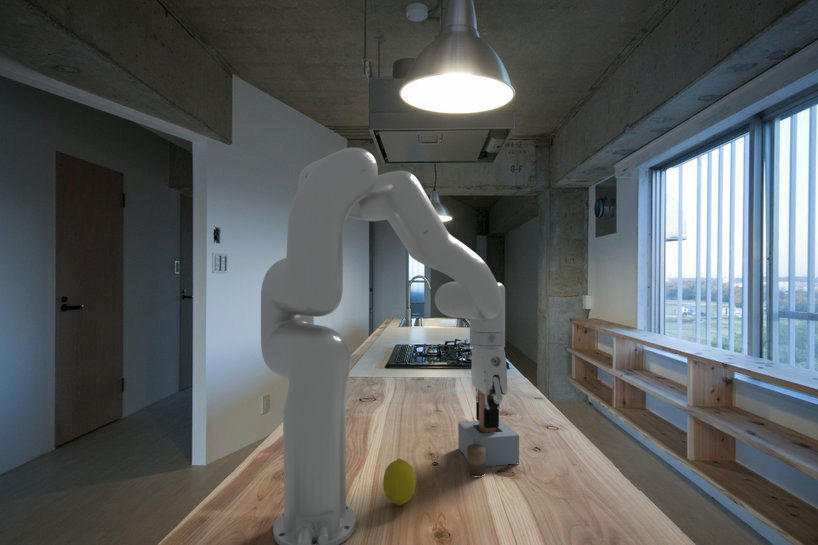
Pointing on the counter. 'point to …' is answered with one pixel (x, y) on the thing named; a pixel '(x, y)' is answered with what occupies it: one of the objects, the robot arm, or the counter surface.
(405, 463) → the lemon
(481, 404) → the long pin
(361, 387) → the counter surface
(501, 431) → the hole block
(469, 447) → the short pin
